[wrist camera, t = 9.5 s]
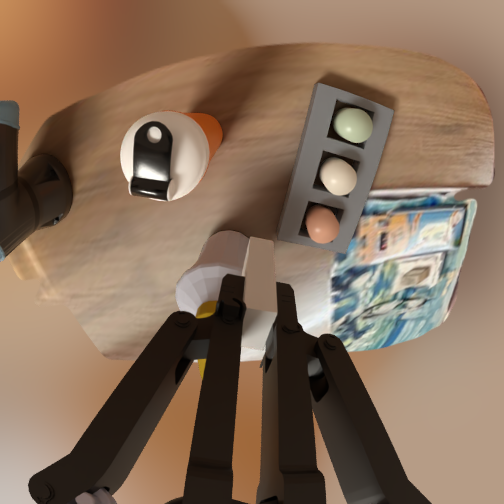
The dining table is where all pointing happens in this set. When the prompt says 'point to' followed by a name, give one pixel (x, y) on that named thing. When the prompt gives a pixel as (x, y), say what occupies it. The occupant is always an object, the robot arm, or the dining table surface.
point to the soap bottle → (211, 275)
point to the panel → (309, 159)
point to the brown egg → (321, 224)
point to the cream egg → (337, 176)
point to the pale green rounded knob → (352, 124)
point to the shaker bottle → (169, 153)
